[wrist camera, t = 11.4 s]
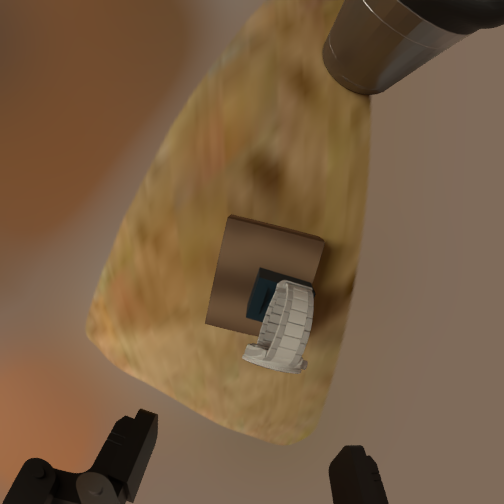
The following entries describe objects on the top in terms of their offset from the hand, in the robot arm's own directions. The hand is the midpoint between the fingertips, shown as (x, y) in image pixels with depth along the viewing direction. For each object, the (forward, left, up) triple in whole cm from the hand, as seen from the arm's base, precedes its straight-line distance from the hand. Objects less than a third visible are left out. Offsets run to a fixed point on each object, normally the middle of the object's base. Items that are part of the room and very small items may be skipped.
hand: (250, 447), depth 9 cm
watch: (+1, +2, -20) cm, 20 cm away
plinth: (0, 0, -23) cm, 23 cm away
